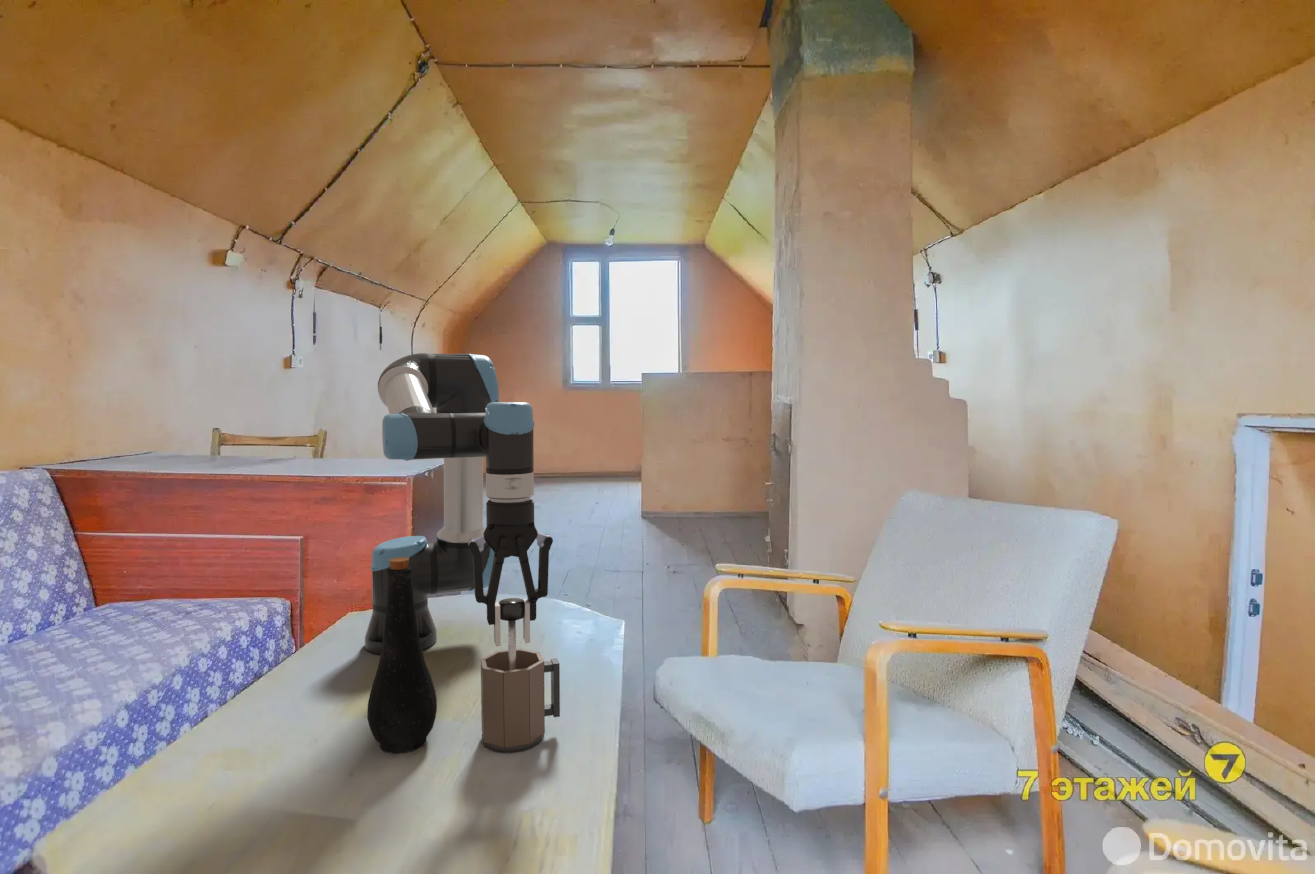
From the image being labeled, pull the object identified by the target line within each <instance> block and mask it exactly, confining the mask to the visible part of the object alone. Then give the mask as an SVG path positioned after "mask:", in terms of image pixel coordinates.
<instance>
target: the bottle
mask: <svg viewBox="0 0 1315 874" xmlns="http://www.w3.org/2000/svg"><path fill="white" fill-rule="evenodd" d="M389 562H390V568H389V569H387V575H388V581H387V606H386V617H385V627H384V636H383V645H382V650H381V654H380V657H379V662H378V665H377V670H376V673H375V676H374V679H373V681H372V685H371V689H370V693H369V697H368V703H367V714H366V715H367V722H368V726H369V729H370V732H371V734H372V736H373V738H374V739H375V741H376V742H377V743H378V744H379V747H380V750H381V751H383V753H388V754H397V755H398V754H406V753H410V752H413V751H415V750H418V749H419V748H421V747H423V746H424V745H425V744H426V743H427V737H428V736H429V734H430V733H431V732H432V730H433V728H434V724H435V720H436V717H437V712H438V711H437V709H438V707H437V706H438V705H437V703H438V702H437V699H438V698H437V693H436V689H435V684H434V681H433V678H432V676H431V673H430V670H429V668H428V665H427V664H426V659H425V657H424V653H423V650H422V648H421V644H420V639H419V633H418V627H417V621H416V614H415V607H414V598H413V587H412V575H411V573H412V568H411V567H409V566H408V565H409V558H407V557H397V558H392V559H390V560H389Z"/></svg>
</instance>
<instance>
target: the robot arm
mask: <svg viewBox="0 0 1315 874" xmlns="http://www.w3.org/2000/svg"><path fill="white" fill-rule="evenodd" d="M495 368H496V367H495V366H494V363H493V361H492V360H491V358H490V357H488V356H487V355H484V354H476V353H474V354H473V353H425V352H424V353H423V352H422V353H421V352H420V353H413V354H409V355H406V356H403V357H401V358H399V359H397V360H394V361H393V362H391V363H390V364H389V365H388V366H386V367H385V368H383V369H384V370H383V371H382V372H381V374H380V375H379V378H378V381H377V392H378V396H379V398H380V400H381V402H382V403H383V404H384V405H385V407H387V409H388V410H387V411H388V414H386V415H384V416H383V418H382V423H381V424H382V425H381V426H382V427H381V429H382V431H381V432H382V434H381V437H382V450H383V451H382V452H383V455H384V457H385V458H386V459H388V460H403V461H407V462H408V461H411V460H429V459H430V460H434V459H435V460H436V459H443V526H442V527H441V528H440V529H439V530H438V531H437V532H436V541H433V542H432V541H430V542H428V540H427V538H426V537H425V536H423V535H415V536H414V535H409V536H407V535H406V536H401V537H398V538H396V537H395V538H393V539H390V540H386V541H384V542H381V543H379V544H377V545H376V546H375V547H374V548H373V550H372V552H371V565H370V571H371V586H372V588H371V591H372V595H371V597H372V600H371V601H372V613H371V616H370V618H369V619H370V620H369V623H368V626H367V630H366V633H365V636H364V649H365V650H366V651H367V652H369V653H371V654H375V655H381V650H382V645H383V636H384V627H385V617H386V606H387V581H388V575H387V569H389V568H390V562H389V560H390V559H392V558H397V557H407V558H409V565H408V566H409V567H411V568H412V573H411V575H412V587H413V598H414V607H415V614H416V621H417V627H418V633H419V639H420V644H421V648H422V651H423V650H425V649H428V648H430V647H432V646H433V645H434V644H436V643H437V639H438V638H437V637H438V636H437V628H436V625H435V622H434V619H433V617H432V614H431V612H430V608H429V601H428V600H429V599H428V598H429V596H431V595H436V594H437V595H438V594H446V593H457V592H467V591H468V592H472V591H474V598H475V602H477V603H478V604H484V605H486V622H487V623H488V626H491V625H493V642H494V645H495V647H501V646H502V645H501V643H502V642H501V638H502V637H501V636H502V635H501V619H500V604H499V600H497V596H498V591H499V586H500V580H501V576H502V571H503V565H504V563H505V558H510V557H515V558H518V561H519V565H520V566H519V567H520V570H521V575H522V579H523V583H524V588H525V592H526V596H527V597H526V598H522V599H523V600H524V618H522V638H523V640H524V643H525V644H530V643H531V621H532V622H533V621H536V619H537V602H538V600H540V599H541V598H545V597H547V596H548V591H549V564H550V563H549V559H550V550H551V547H552V544H553V542H554V540H553V537H552V536H551V535H550V534H549V533H548V534H544V533H542V532H541V533H540V532H538V530H537V528H536V526H535V525H536V524H535V500H533V499H532V498H531V497H533V496H534V495H535V480H534V479H535V478H534V477H535V476H534V475H535V474H534V469H535V468H534V466H535V464H534V455H535V453H534V428H535V421H534V413H533V412H534V411H533V406H532V405H531V404H530V403H529V402H525V401H523V402H519V401H509V402H508V401H503V402H502V401H499V399H500V394H499V393H500V390H499V382H498V377H497V373H496V369H495ZM434 408H435V410H434ZM435 411H436V412H435ZM484 458H485V467H486V468H485V492H486V493H485V496H486V497H487V499H488V500H487V501H486V503H485V505H486V507H485V509H486V511H485V512H486V515H485V516H486V526H484V524H483V523H484V522H483V521H484V518H483V517H484V516H483V515H484ZM535 540H536V545H537V546H538V547H539V549H538V569H537V570H538V573H537V574H538V575H537V576H538V577H537V579H538V580H537V588H536V589H535V584H534V580H533V574H532V571H531V567H530V562H529V557H528V550H529V549H530V548H531V546H532V545H533V544H534V542H535ZM487 587H488V588H487ZM485 588H487V591H486V593H484V589H485Z"/></svg>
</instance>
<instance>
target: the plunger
mask: <svg viewBox="0 0 1315 874" xmlns="http://www.w3.org/2000/svg"><path fill="white" fill-rule="evenodd" d="M523 599H524V598H517V597H510V598H504V599H501V600H500V601H499V600H498V602H499V604H500V621H506V622H507V639H508V640H507V641H508V642H507V643H508V644H507V646H508V649H507V650H508V659H509V670H516V649H517V648H516V647H517V639H516V638H517V628H516V627H517V626H516V625H517V623H516V621H518V620H523V618H524V600H523Z"/></svg>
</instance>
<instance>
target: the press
mask: <svg viewBox="0 0 1315 874" xmlns="http://www.w3.org/2000/svg"><path fill="white" fill-rule="evenodd" d="M560 672H561V671H560V662H559V660H558V658H556V657H555V658H550V660H549V661H545V660H544V657H543V656H542V653H541V652H540V651H536V650H529V649H525V648H516V670H509V659H508V649H504V650H497V651H495V652H492V653H490V654H488V655H486V656H484V657H482V658H480V697H481V698H480V705H481V706H480V707H481V717H480V718H481V744H482V746H483V747H484V748H486V750H489V751H492V752H494V753H500V754H516V753H521V752H525V751H528V750H531V749H533V748H535V747H537V746H539V744H541V743H542V742H543V740H544V738H545V733H546V730H545V729H546V727H545V725H546V724H545V722H546V720H545V718H546V717H550V716H553V718H558V717H559V718H560V717H561V713H560V712H561V701H560V699H561V693H560V691H561V689H560V688H561V686H560V678H561V677H560V676H561V675H560V674H561V673H560ZM546 673H550V704H545V674H546Z"/></svg>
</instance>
